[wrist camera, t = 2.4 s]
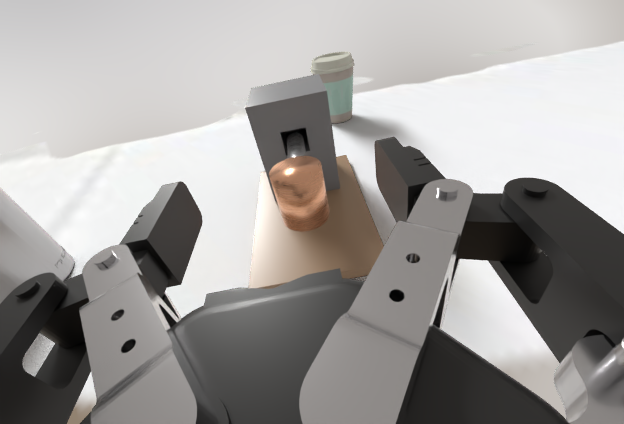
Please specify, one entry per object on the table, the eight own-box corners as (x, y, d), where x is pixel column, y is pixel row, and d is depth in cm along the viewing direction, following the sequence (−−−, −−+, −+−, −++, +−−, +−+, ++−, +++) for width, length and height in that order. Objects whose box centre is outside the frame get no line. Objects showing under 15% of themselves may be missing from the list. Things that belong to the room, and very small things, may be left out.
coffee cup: (366, 113, 60) (363, 50, 53) (339, 129, 56) (331, 63, 49) (337, 108, 66) (330, 50, 58) (310, 122, 62) (300, 62, 54)
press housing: (390, 271, 28) (390, 138, 19) (251, 296, 28) (190, 178, 20) (346, 161, 46) (336, 68, 37) (262, 178, 46) (233, 90, 38)
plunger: (332, 226, 24) (324, 177, 21) (283, 235, 25) (268, 188, 22) (316, 154, 35) (309, 115, 32) (282, 161, 35) (272, 123, 32)
